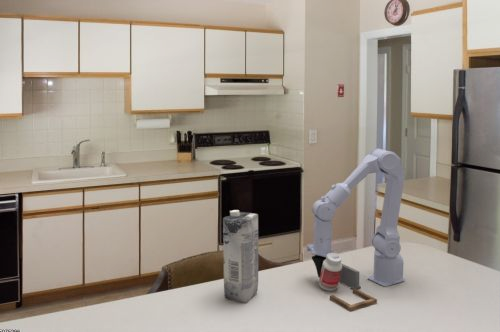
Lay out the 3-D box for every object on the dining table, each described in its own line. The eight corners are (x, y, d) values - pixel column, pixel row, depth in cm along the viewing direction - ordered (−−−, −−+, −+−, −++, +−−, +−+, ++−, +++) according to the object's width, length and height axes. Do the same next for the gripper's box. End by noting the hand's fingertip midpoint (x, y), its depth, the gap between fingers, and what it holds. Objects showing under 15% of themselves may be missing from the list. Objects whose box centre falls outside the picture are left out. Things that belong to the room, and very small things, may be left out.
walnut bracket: (355, 292, 147) (355, 288, 147) (376, 303, 139) (376, 299, 139) (329, 299, 142) (329, 295, 142) (350, 311, 134) (350, 307, 134)
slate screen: (332, 274, 162) (332, 258, 161) (360, 288, 150) (361, 271, 149) (325, 276, 160) (325, 259, 159) (353, 290, 148) (354, 272, 147)
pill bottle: (340, 289, 149) (348, 261, 145) (324, 292, 147) (331, 264, 142) (330, 277, 154) (337, 249, 150) (314, 280, 152) (320, 252, 148)
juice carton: (261, 292, 148) (261, 208, 144) (247, 305, 138) (246, 216, 134) (236, 287, 152) (235, 206, 148) (220, 300, 142) (219, 213, 138)
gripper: (299, 233, 155) (298, 272, 157) (327, 245, 143) (326, 287, 145) (316, 230, 159) (315, 268, 161) (344, 241, 146) (343, 283, 148)
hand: (321, 277), depth 153 cm, fingers closed
